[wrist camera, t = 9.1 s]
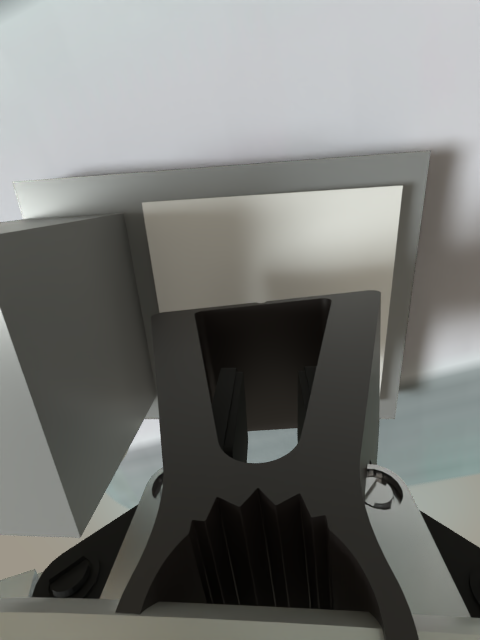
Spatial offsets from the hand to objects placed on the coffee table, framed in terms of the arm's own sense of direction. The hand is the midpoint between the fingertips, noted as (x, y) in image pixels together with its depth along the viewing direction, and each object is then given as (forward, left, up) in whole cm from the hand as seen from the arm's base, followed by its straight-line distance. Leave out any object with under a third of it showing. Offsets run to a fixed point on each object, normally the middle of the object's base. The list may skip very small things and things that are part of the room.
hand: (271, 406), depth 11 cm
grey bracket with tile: (+3, 0, -12) cm, 13 cm away
